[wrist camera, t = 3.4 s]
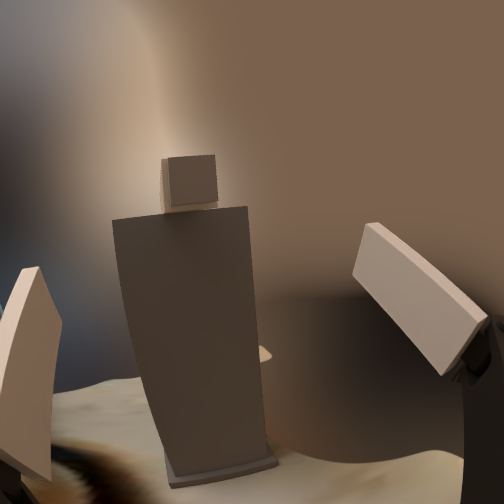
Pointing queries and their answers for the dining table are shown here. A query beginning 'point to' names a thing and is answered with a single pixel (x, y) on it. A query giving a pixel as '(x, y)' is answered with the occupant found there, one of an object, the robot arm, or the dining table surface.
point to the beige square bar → (188, 184)
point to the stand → (196, 339)
